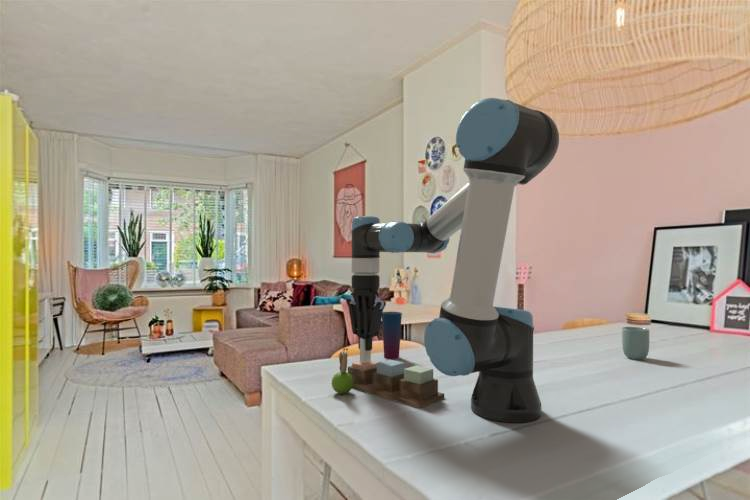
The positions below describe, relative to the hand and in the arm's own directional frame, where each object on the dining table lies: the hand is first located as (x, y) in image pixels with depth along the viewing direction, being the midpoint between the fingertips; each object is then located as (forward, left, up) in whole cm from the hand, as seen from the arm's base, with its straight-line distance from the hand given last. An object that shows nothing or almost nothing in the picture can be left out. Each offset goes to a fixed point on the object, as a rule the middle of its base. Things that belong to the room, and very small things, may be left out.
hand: (365, 362), depth 121 cm
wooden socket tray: (-9, 0, -6) cm, 11 cm away
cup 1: (+15, -28, -6) cm, 32 cm away
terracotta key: (0, 0, -3) cm, 3 cm away
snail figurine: (-2, +10, -6) cm, 12 cm away
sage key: (-18, 0, -2) cm, 18 cm away
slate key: (-9, 0, -2) cm, 9 cm away
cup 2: (-45, -84, -6) cm, 96 cm away
